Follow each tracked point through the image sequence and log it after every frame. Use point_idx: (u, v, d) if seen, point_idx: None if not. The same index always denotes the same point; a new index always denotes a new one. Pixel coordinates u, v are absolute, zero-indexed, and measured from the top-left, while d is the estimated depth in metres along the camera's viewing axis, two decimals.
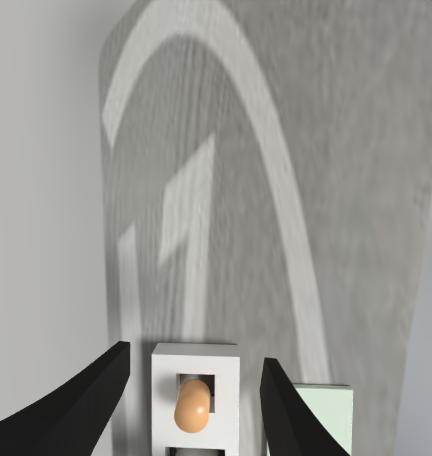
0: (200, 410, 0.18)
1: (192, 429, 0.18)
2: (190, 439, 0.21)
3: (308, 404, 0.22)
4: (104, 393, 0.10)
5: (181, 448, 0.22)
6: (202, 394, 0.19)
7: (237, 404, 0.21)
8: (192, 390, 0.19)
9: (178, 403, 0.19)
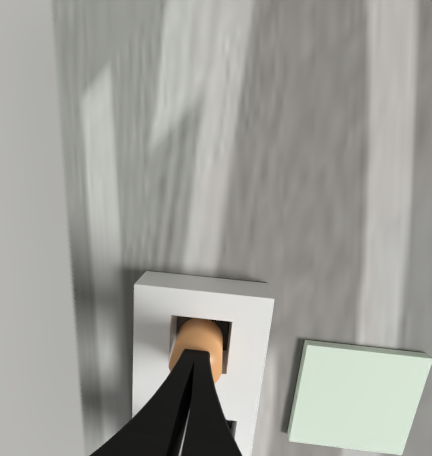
0: (210, 360, 0.12)
1: None
2: None
3: (361, 372, 0.15)
4: (185, 403, 0.10)
5: None
6: (213, 338, 0.13)
7: (262, 365, 0.14)
8: (198, 331, 0.13)
9: (176, 348, 0.12)
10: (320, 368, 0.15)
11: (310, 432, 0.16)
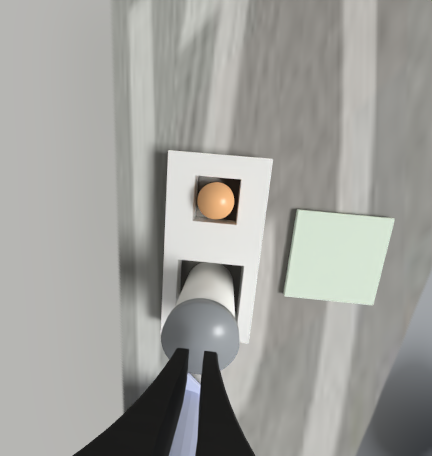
0: (226, 195, 0.17)
1: (215, 215, 0.18)
2: (206, 252, 0.19)
3: (340, 232, 0.20)
4: (176, 401, 0.10)
5: (194, 269, 0.21)
6: (227, 186, 0.18)
7: (263, 216, 0.18)
8: None
9: (202, 188, 0.17)
10: (308, 229, 0.20)
11: (301, 287, 0.21)
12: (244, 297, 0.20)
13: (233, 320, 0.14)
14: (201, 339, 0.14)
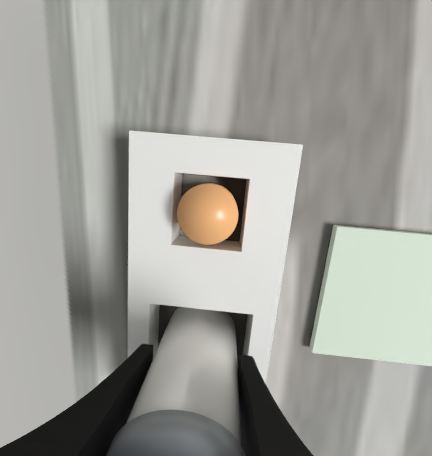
0: (224, 205, 0.10)
1: (208, 238, 0.11)
2: (193, 293, 0.12)
3: (402, 260, 0.13)
4: (132, 396, 0.10)
5: (177, 315, 0.14)
6: (227, 191, 0.11)
7: (285, 238, 0.11)
8: (210, 183, 0.11)
9: (186, 193, 0.10)
10: (352, 256, 0.13)
11: (337, 341, 0.14)
12: None
13: None
14: None
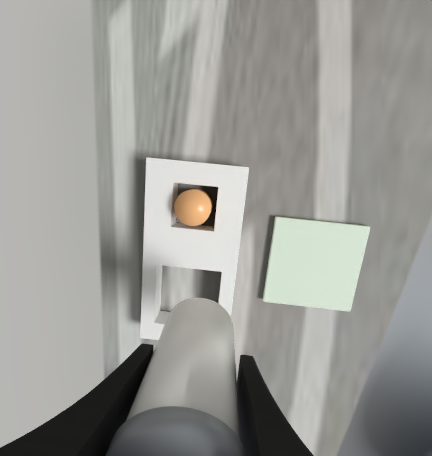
0: (202, 202, 0.17)
1: (192, 222, 0.18)
2: (184, 258, 0.19)
3: (317, 239, 0.20)
4: (132, 396, 0.10)
5: (176, 312, 0.14)
6: (205, 194, 0.18)
7: (240, 223, 0.18)
8: (195, 189, 0.18)
9: (179, 195, 0.18)
10: (286, 236, 0.20)
11: (279, 293, 0.21)
12: (222, 303, 0.20)
13: (238, 455, 0.07)
14: None
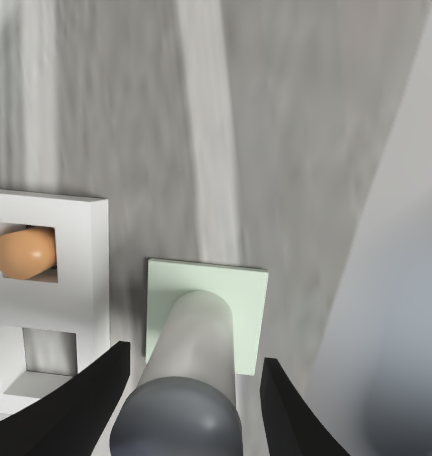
0: (27, 249, 0.13)
1: (19, 274, 0.13)
2: (26, 316, 0.15)
3: (203, 288, 0.15)
4: (104, 393, 0.10)
5: (180, 302, 0.15)
6: (41, 236, 0.14)
7: (89, 273, 0.14)
8: (28, 230, 0.14)
9: None
10: (164, 284, 0.16)
11: None
12: None
13: (234, 422, 0.08)
14: (178, 450, 0.08)
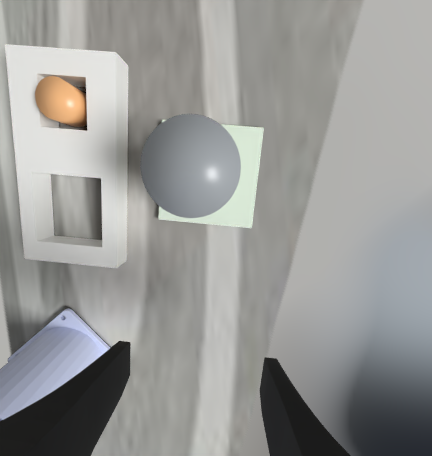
0: (64, 90, 0.16)
1: (56, 115, 0.16)
2: (59, 163, 0.18)
3: None
4: (104, 393, 0.10)
5: None
6: (74, 87, 0.17)
7: (114, 119, 0.17)
8: None
9: (40, 84, 0.16)
10: None
11: None
12: (105, 215, 0.18)
13: None
14: (192, 166, 0.11)
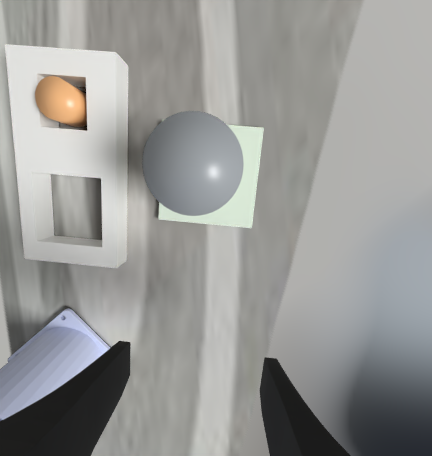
0: (64, 90, 0.16)
1: (56, 115, 0.16)
2: (59, 163, 0.18)
3: None
4: (104, 393, 0.10)
5: None
6: (74, 87, 0.17)
7: (114, 119, 0.17)
8: None
9: (40, 84, 0.16)
10: None
11: None
12: (105, 215, 0.18)
13: (236, 138, 0.11)
14: (194, 163, 0.11)
